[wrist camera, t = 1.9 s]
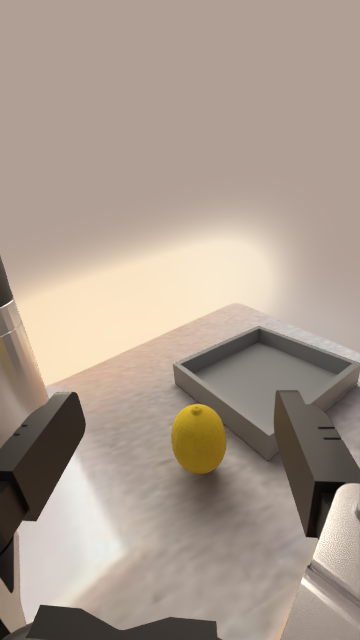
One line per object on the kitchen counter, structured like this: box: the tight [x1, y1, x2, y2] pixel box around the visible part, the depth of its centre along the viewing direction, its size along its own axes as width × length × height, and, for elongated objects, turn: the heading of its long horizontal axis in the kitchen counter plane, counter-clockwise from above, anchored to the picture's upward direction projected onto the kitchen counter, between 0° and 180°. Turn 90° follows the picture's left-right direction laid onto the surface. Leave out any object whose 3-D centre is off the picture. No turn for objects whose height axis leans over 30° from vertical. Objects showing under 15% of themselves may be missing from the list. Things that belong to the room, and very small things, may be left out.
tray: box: [173, 326, 360, 461], centre depth 39 cm, size 18×20×4 cm
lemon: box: [171, 404, 226, 474], centre depth 26 cm, size 6×6×8 cm
